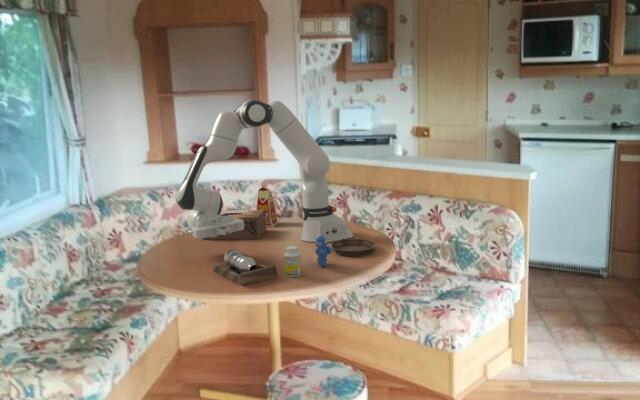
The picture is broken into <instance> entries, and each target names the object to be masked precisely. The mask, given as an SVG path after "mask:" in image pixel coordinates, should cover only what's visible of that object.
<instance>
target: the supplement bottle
mask: <svg viewBox="0 0 640 400" xmlns="http://www.w3.org/2000/svg"><path fill="white" fill-rule="evenodd" d="M285 249H286V250H285V251H286V252H285V253H284V265H285V267H284V268H285V269H284V270H285V275H286V276H287V277H289V278H296V277H299V276H301V274H302V266H301V263H302V262H301V253H300V251H298V250H299V249H298V246H296V245H289V246H287V247H286V248H285Z"/></svg>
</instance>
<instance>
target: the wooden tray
mask: <svg viewBox="0 0 640 400" xmlns="http://www.w3.org/2000/svg"><path fill="white" fill-rule="evenodd" d="M254 261H255V264H256V265H257V266H258V269H257V270H253V271H249V272H245V273H240V272H239V271H238V269H236V268H234V267H230V266H227V267H224V266H222V265H220V264H219V263H214V264H213V263H212V271H213V272H215V273H217V274H219V275H221V276H223V277H225V278H226V279H228V280H230V281H232V282H234V283H236V284H238V285H240V286H242V287H245V286H247V285H252V284H255V283H256V284H257V283H258V282H264V281H266V280H271V279H274V278H277V277H278V274H277V273H278V272H277V265H275V264H273V265H269V266H267V265H265V264H262V263H260V262H258V261H257V260H254Z"/></svg>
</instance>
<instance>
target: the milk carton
mask: <svg viewBox="0 0 640 400" xmlns="http://www.w3.org/2000/svg"><path fill="white" fill-rule="evenodd" d="M256 210H264V213H265V228H274V227H275V226H276V225H277V224H278V216H277V212H276V211H277V210H276V206H275V200H274V197H273V191H272V190H271V189H269V188H268V187H267V185H266V184H265V185H264V184H261V187H260V188H259V189H258V191H257V198H256Z"/></svg>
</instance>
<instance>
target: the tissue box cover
mask: <svg viewBox="0 0 640 400" xmlns="http://www.w3.org/2000/svg"><path fill="white" fill-rule="evenodd" d="M219 215H231V216H232V217H236V218H239V219H241V220H243V221H244V229H243V230H240V231H235V232H231V234H226V235H218V236H216V237H214V238H210V237H207V238H202V239H201V240H259V239H260V238H261V236H262V235H263V234H264V233H265V232H266V231H267V230H266V228H267V227H265V213H264V210H257V209H238V210H235V209H231V210H229V209H228V210H225V209H224V210H223V209H222V210H221V212H220V214H219Z"/></svg>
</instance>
